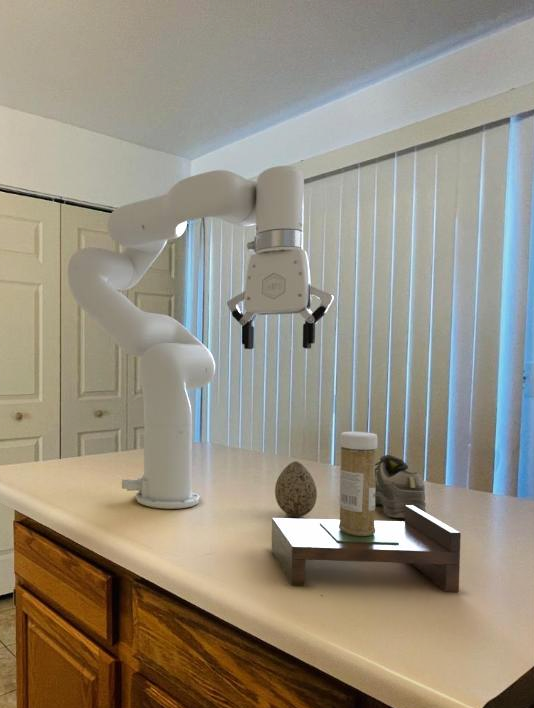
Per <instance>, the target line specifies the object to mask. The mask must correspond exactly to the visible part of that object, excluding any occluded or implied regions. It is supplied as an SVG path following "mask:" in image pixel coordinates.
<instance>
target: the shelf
mask: <svg viewBox="0 0 534 708" xmlns="http://www.w3.org/2000/svg"><path fill="white" fill-rule="evenodd" d="M339 524H340V519H327V518H326V519H325V518H293V517H292V518H291V517H290V518H288V517H286V518H285V517H272V518H271V548H270V551H271V553H272V554H273V556H274V558H275V560H276V561H277V563H278V565H279V567H280V568H281V570H282V571H283V573H284V575H285V577H286V578H287V580H288V582H289V584H290V585H291V586H295V587H305V585H306V584H305V582H306V581H305V580H306V579H305V578H306V560H308V561H334V562H335V561H337V562H338V561H339V562H340V561H341V562H365V563H366V562H367V563H392V564H393V563H396V564H411V565H412V566H414V567H415V568H416V569H417V570H418V571H420V572H421V573H422V574H423V575H424V576H426V577H427V578H428V579H429V580H430V581H432V582H433V583H434V584H436V585H437V586H438V587H439V588H441V589H442V590H443V591H444V592H445V593H446V592H448V593H459V592H460V567H461V565H460V564H461V562H460V561H461V538H462V537H461V536H462V534H461V532H460V531H458V530H457V529H455V528H453V527H452V526H450V525H447V524H446V523H444V522H442V521H441V520H439V519H438V518H436V517H435V516H433V515H430V514H428V513H427V512H426V513H425V512H424V511H422V510H420V509H418V508H417V507H415V506H413V505H405V518H404V521H397V520H374V527H375V533H374V534H373V535H370V536H355V535H351V534H347V533H344V532H342V531H341V530H340V529H339Z"/></svg>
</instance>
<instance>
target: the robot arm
mask: <svg viewBox="0 0 534 708" xmlns="http://www.w3.org/2000/svg"><path fill="white" fill-rule="evenodd" d="M304 192H305V178H304V173H303V171H302V170H301V169H300V168H299V167H297V166H292V165H277V166H273V167H269V168H267V169H265V170H263V171H262V172H260V173H259V175H258V176H257V179H256V181H254V180H250V179H247V178H245V177H243V176H241V175H239V174H237V173H235V172H232V171H229V170H225V169H218V170H217V169H216V170H210V171H207V172H202V173H198V174H195V175H191V176H188V177H186V178H183V179H181V180H179V181H177V182H176V183H175V184H174V185H173V186H172V187H171V188H170V189H169V190H168V191H167V193H165V194H161V195H158V196H155V197H150V198H146V199H143V200H139V201H135V202H131V203H128V204H124V205H121V206H119V207H117V208H115V209H113V210H112V212H111V213H110V214H109V216H108V218H107V221H106V230H107V234H108V235H109V237H110V238H111V240H112V241H113V242H114V243H116V244H118V245H120V246H122V247H125V248H124V249H123V250H122V252H119V251H116V250H111V249H107V248H103V247H102V248H101V247H96V246H95V247H92V246H91V247H83V248H80V249H78V250H76V251H75V252H74V253H73V254H72V255H71V257H70V258H69V260H68V264H67V283H68V287H69V290H70V293H71V295H72V297H73V298H74V301H75V302H76V303H77V304H78V305H79V307H80V308H81V309H82V310H83V311H84V312H85V313H86V314H87V315H88V316H89V317H90V318H91V319H92V320H93V321H94V322H95V323H97V325H98V326H99V327H100V328H101V330H102V331H104V333H105V334H106V335H107V336H108V337H109V338H110V339H111V340H112V341H113V343H115V345H117V347H118V348H120V349H121V351H122V352H123V353H125V354H126V355H128V356H130V357H134V358H140V360H139V366H138V371H139V372H138V373H139V380H140V385H141V390H142V397H143V398H142V399H143V474H142V478H141V477H138V478H137V479H125V478H124V479H123V478H122V479H121V489H122V490H126V491H127V492H129V491H130V492H133V491H136V494H135V498H136V499H135V500H136V501H137V503H139V504H141V505H143V506H146V507H150V508H155V509H164V510H165V509H166V510H167V509H168V510H173V509H175V510H177V509H186V508H191V507H194V506H197V505H198V504H199V503H200V495H199V494H198V493H197V492H195V491H193V490H192V477H193V476H192V473H193V469H192V468H193V467H192V466H193V464H192V463H193V461H192V458H193V457H192V456H193V450H192V449H193V413H192V407H191V402H190V398H189V395H188V390H197V389H201V388H204V387H205V386H207V385H208V384H210V382H211V381H212V380H213V378H214V377H215V373H216V363H215V362H216V361H215V360H214V356H213V354H212V353H211V351H210V350H209V349H208V347H206V346H205V344H203V343H202V342H201V340H199V339H198V338H197V337H196V336H195V335H194V334H193V333H191V332H190V331H189V330H188V329H187V328H186V327H185V326H184V325H183V324H182V323H180V322H179V321H178V320H176V319H175V318H173V317H172V316H170V315H167V314H163V313H156V312H155V313H154V312H148V311H144V310H142V309H140V308H139V307H138V306H136V305H135V304H134V303H133V302H132V301H131V300H129V298H128V297H127V296H126V295H125V294H123V293H122V292H120V291H127V290H130V289H132V288H133V287H134V286H136V285H137V284H138V283H139V282H140V280H141V279H142V278H143V277H144V275H145V274H146V272H148V270H149V268H150V267H151V266H152V265H153V263H154V262H155V260H156V259H157V258H158V257H159V255H160V254H161V253H162V252H163V249H164V248H165V246H166V245H167V243H168V241H170V240H174V239H175V240H176V239H178V238H179V237H181V236H182V235H183V234H184V232H185V231H186V228H187V225H188V222H189V221H194V220H198V219H205V218H216V219H219V220H222V221H224V222H228V223H230V224H232V225H235V226H237V227H251V226H255V236H254V239H253V241H252V240H251V241H249V242H247V244H246V245H247V246H246V248H247V251H252V252H254V253H253V254H250V257H249V260H248V264H247V271H246V278H245V286H244V290H243V291H242V292H241V293H239V294H237V295H235V296H234V297H232V298H230V299H229V300H228V301H227V302H226V305H227V307H228V309H229V312H230V313H231V316H232V317H233V318H234V320H236V321H237V322H238V323H239V325H240V326H241V344H242V345H243V347H244V349H245V350H253V349H254V347H255V327H254V325H253V322H254V321H255V320H256V319H257V317H258V316H268V315H269V316H270V315H272V316H273V315H292V314H293V315H294V314H299V315H300V316H301V317H302V318H303V319H304V320H305V321H304V323H303V324H302V348H303V349H312V345H313V344H315V342H316V324H317V323H318V322H319V321H320V320H321V319H322V318H323V317H324V316H325V315H326V314H327V312H328V310H329V308H330V307H331V305H332V303H333V301H334V299H335V297H334V296H333V295H332V294H330V293H329V292H326V291H323V290H321V289H319V288H317V287H315V286H312V284H311V272H310V263H309V259H308V252H307V251H306V250H305V249H304V202H305V201H304V200H305V199H304V197H305V196H304V195H305V193H304ZM312 297H315V298H318V299H320V300H321V301H320V305H319V306H318V307H317V308H316V309H315V310H314V311H313V312H312V311H311V305H312ZM242 303H244V310H245V313H243V312H242V311H240V308H239V306H240V305H241V304H242Z"/></svg>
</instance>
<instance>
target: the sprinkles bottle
mask: <svg viewBox="0 0 534 708" xmlns="http://www.w3.org/2000/svg"><path fill="white" fill-rule="evenodd" d="M339 447H340V451H341V452H340V468H339V520H340V524H339V529H340V530H341V531H342V532H344V533H347V534H351V535H355V536H370V535H373V534H374V533H375V527H374V521H375V512H376V510H375V509H376V505H375V468H376V466H375V464H376V453H377V449H378V434H376V433H372V432H366V431H343V432H341V433H340V434H339Z"/></svg>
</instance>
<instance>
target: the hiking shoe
mask: <svg viewBox="0 0 534 708" xmlns="http://www.w3.org/2000/svg"><path fill="white" fill-rule="evenodd" d="M408 469H409V465H408V464H407V463H406V462H405V461H404V459H402V458H400V457H397V456H394V455H391V454H386V455H382V456H381V457H379V461H378V462H375V506H381V505H382V511H383V514H384V515H386V516H387V517H389V518H396V519H405V505H413V506H415V507H417V508H418V509H420V510H422V511H424V512H425V513H427V510H426V505H427V503H426V502H425V501H426V493H425V492H426V491H425V490H426V489H425V484H424V480H423V478H422V476H421V475H420V473H419V472H411V471H409V470H408Z"/></svg>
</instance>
